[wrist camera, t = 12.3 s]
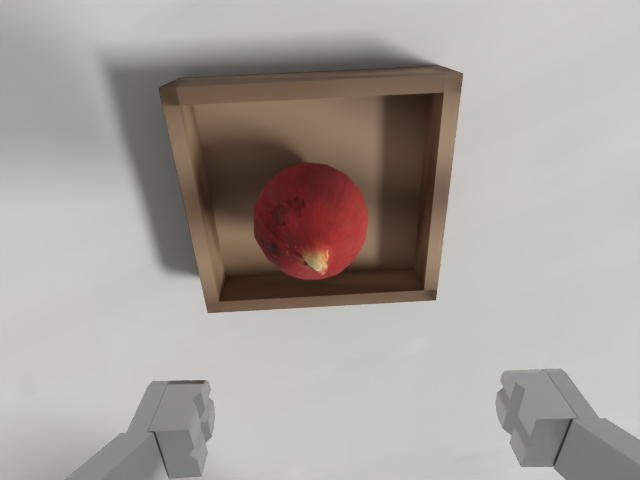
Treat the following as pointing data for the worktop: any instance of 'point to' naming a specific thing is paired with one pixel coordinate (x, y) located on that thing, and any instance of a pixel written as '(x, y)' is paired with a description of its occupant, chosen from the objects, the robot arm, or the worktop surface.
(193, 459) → the robot arm
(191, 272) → the worktop surface
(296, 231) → the onion
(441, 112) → the walnut tray
